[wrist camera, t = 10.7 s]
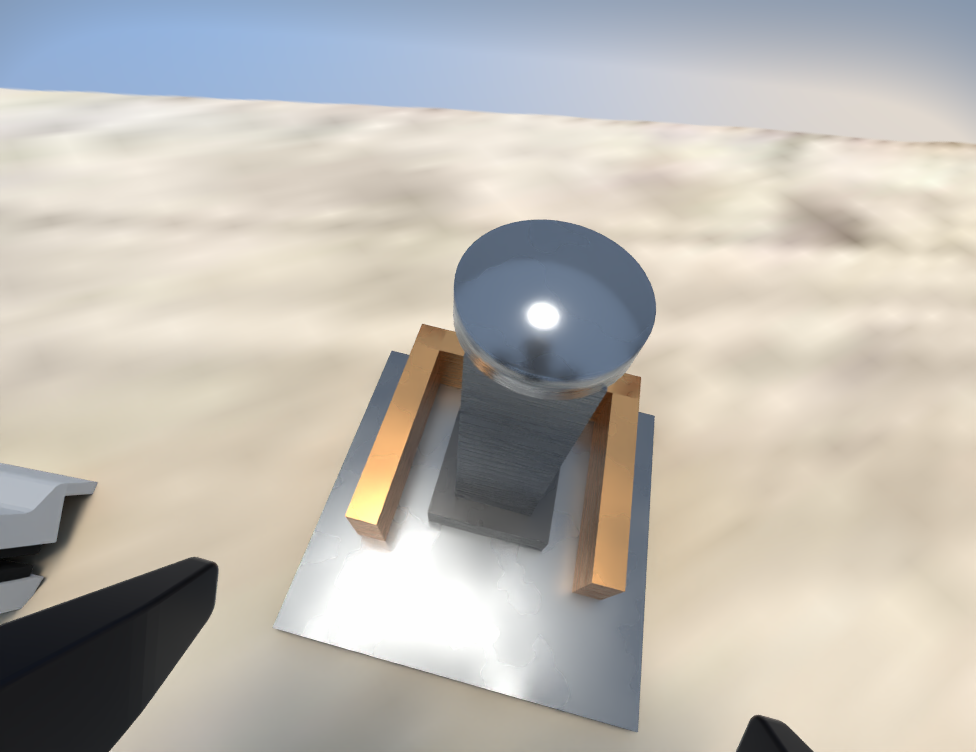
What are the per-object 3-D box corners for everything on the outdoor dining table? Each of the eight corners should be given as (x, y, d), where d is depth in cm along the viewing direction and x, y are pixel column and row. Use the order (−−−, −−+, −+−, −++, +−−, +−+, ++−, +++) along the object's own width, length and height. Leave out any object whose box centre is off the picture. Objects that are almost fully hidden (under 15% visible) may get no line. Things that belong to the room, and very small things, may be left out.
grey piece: (541, 551, 20) (665, 416, 9) (428, 521, 20) (407, 353, 9) (559, 445, 22) (672, 237, 11) (459, 420, 23) (472, 192, 11)
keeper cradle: (632, 730, 17) (672, 746, 14) (277, 628, 18) (242, 622, 15) (650, 421, 24) (680, 386, 21) (393, 357, 25) (385, 314, 22)
